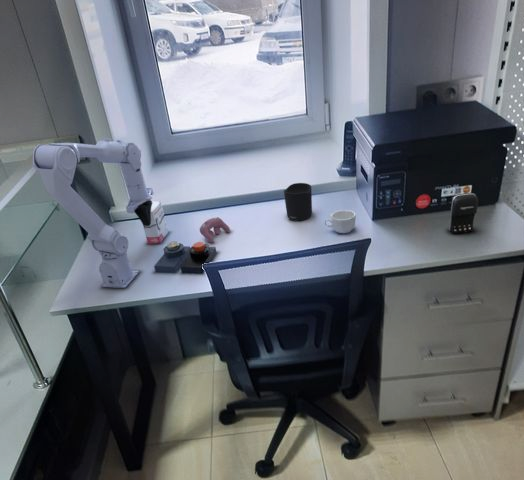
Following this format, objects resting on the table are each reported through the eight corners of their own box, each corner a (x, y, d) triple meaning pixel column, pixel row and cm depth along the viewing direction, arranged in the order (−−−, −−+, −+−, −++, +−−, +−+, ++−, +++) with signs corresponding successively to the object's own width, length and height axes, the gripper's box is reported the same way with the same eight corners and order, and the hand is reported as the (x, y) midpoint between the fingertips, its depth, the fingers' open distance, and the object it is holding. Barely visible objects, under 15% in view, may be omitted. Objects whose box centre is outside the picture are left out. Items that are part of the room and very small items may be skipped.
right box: (202, 273, 152) (199, 262, 150) (181, 273, 154) (178, 261, 152) (216, 252, 162) (214, 241, 159) (197, 252, 164) (194, 241, 161)
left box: (175, 272, 155) (172, 261, 152) (155, 272, 157) (152, 260, 154) (191, 252, 164) (188, 241, 162) (172, 251, 166) (169, 241, 164)
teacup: (354, 223, 165) (354, 208, 162) (357, 234, 159) (356, 218, 156) (324, 226, 166) (323, 211, 163) (325, 237, 160) (324, 221, 157)
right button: (202, 252, 155) (201, 247, 154) (192, 252, 156) (191, 247, 155) (206, 246, 158) (205, 241, 157) (196, 246, 159) (195, 241, 158)
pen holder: (282, 214, 178) (279, 187, 172) (307, 208, 180) (305, 180, 174) (291, 224, 171) (289, 196, 165) (317, 217, 173) (315, 189, 166)
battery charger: (451, 235, 151) (455, 199, 144) (447, 230, 154) (452, 194, 147) (475, 233, 151) (480, 196, 143) (471, 227, 154) (476, 191, 146)
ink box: (161, 243, 172) (151, 211, 165) (147, 244, 173) (138, 211, 166) (169, 232, 178) (161, 200, 171) (156, 232, 180) (147, 201, 172)
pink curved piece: (224, 233, 175) (214, 215, 173) (232, 230, 172) (222, 211, 170) (205, 245, 170) (194, 227, 168) (212, 242, 166) (202, 223, 164)
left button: (176, 251, 158) (175, 246, 157) (166, 251, 159) (165, 246, 158) (181, 246, 160) (179, 241, 159) (171, 246, 161) (169, 241, 160)
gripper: (136, 192, 145) (148, 235, 154) (157, 174, 156) (167, 215, 164) (115, 193, 147) (128, 235, 156) (137, 174, 158) (148, 215, 166)
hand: (147, 224), depth 160 cm, fingers closed
